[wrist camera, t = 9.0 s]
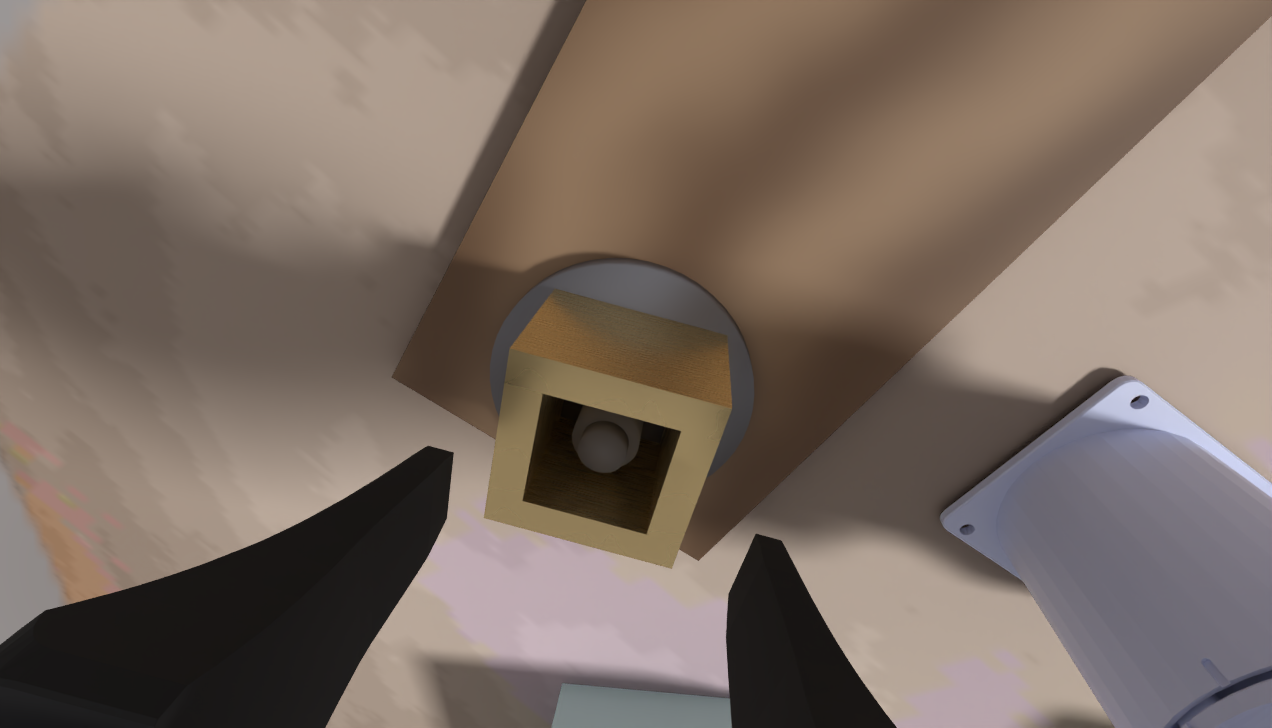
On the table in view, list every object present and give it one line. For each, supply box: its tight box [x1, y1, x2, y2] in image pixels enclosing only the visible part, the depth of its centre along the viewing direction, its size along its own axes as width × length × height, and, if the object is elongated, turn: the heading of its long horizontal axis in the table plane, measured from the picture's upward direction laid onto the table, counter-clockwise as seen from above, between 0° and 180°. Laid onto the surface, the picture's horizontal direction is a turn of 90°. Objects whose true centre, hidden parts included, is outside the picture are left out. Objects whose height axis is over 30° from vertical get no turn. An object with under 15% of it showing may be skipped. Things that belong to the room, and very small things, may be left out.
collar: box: [484, 289, 732, 569], centre depth 17 cm, size 6×6×4 cm
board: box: [392, 0, 1272, 561], centre depth 15 cm, size 14×28×5 cm, turn 146°
